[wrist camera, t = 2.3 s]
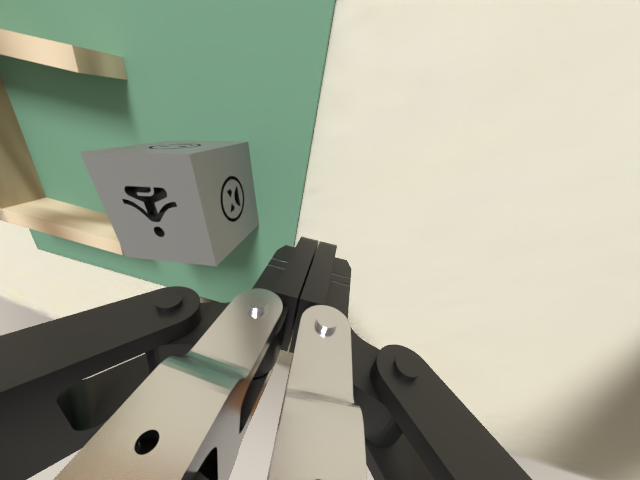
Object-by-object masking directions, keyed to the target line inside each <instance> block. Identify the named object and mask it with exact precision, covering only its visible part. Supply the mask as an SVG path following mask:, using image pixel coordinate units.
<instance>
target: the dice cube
mask: <svg viewBox="0 0 640 480" xmlns="http://www.w3.org/2000/svg"><path fill="white" fill-rule="evenodd" d="M80 154H81V156H82V158H83V161H84V163H85V165H86V168H87V170H88V172H89V174H90V177H91V179H92V181H93V184H94V186H95V188H96V190H97V193H98V195H99V197H100V199H101V202H102V204H103V206H104V209H105V211H106V213H107V215H108V218H109V220H110V222H111V225H112V227H113V229H114V231H115V234H116V236H117V238H118V241H119V243H120V245H121V247H122V250H123V252H124V254H125V257H131V258H140V259H150V260H160V261H170V262H179V263H189V264H199V265H208V266H217V265H218V264H219V263H220V262H221V261H222V260H223V259H224V258H225V257H226V256H227V255H229V254H230V253H231V252H232V251H233V250H234V249H235V248H236V247H237V246H238V245H239V244H240V243H241V242H242V241H243V240H244V239H245V238H246V237H247V236H248V235H249V234H250V233H251V232H252V231H253V230H254V229H255V228H256V227H257V226H258V225H259V220H258V212H257V205H256V197H255V190H254V182H253V174H252V167H251V159H250V152H249V144H248V142H235V141H163V142H155V143H147V144H139V145H131V146H124V147H116V148H108V149H100V150H92V151H84V152H80Z"/></svg>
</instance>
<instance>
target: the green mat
mask: <svg viewBox="0 0 640 480" xmlns="http://www.w3.org/2000/svg"><path fill="white" fill-rule="evenodd" d="M335 2H336V0H0V29H3V30H7V31H12V32H16V33H21V34H25V35H30V36H34V37H38V38H43V39H47V40H52V41H56V42H60V43H65V44H69V45H74V46H78V47H82V48H86V49H90V50H95V51H99V52H103V53H107V54H112V55H116V56H120V57H124V62H125V69H126V75H127V80H125V79H118V78H111V77H105V76H98V75H91V74H84V73H78V72H74V71H69V70H65V69H61V68H57V67H52V66H48V65H44V64H40V63H35V62H31V61H27V60H23V59H18V58H14V57H10V56H5V55H1V54H0V75H1V78H2V80H3V83H4V86H5V88H6V91H7V94H8V96H9V99H10V102H11V104H12V107H13V110H14V112H15V115H16V118H17V120H18V123H19V126H20V128H21V131H22V134H23V136H24V139H25V142H26V144H27V147H28V150H29V152H30V155H31V158H32V161H33V163H34V166H35V169H36V171H37V174H38V177H39V179H40V182H41V185H42V187H43V190H44V193H45V195H46V197H47V198H50V199H54V200H57V201H61V202H65V203H68V204H72V205H76V206H79V207H83V208H86V209H90V210H94V211H97V212H101V213H105V214H107V213H106V211H105V209H104V206H103V204H102V202H101V199H100V197H99V195H98V193H97V190H96V188H95V186H94V184H93V181H92V179H91V177H90V174H89V172H88V170H87V168H86V165H85V163H84V161H83V158H82V156H81V154H80V152H84V151H92V150H100V149H108V148H116V147H124V146H131V145H139V144H147V143H155V142H163V141H235V142H248V144H249V152H250V159H251V167H252V174H253V182H254V190H255V197H256V205H257V212H258V220H259V225H258V226H257V227H256V228H255V229H254V230H253V231H252V232H251V233H250V234H249V235H248V236H247V237H246V238H245V239H244V240H243V241H242V242H241V243H240V244H239V245H238V246H237V247H236V248H235V249H234V250H233V251H232V252H231V253H230V254H229V255H227V256H226V257H225V258H224V259H223V260H222V261H221V262H220V263H219V264H218V265H217V266H208V265H199V264H189V263H179V262H170V261H160V260H150V259H140V258H131V257H125V254H124V255H120V254H117V253H113V252H110V251H106V250H103V249H99V248H96V247H92V246H89V245H85V244H82V243H78V242H75V241H71V240H68V239H64V238H61V237H57V236H54V235H50V234H47V233H43V232H40V231H36V230H33V229H29V230H30V232H31V234H32V237H33V239H34V241H35V244H36V246H37V248H38V249H40V250H44V251H47V252H50V253H54V254H57V255H61V256H64V257H68V258H71V259H74V260H78V261H81V262H85V263H88V264H91V265H95V266H98V267H102V268H105V269H109V270H112V271H115V272H119V273H122V274H126V275H129V276H132V277H136V278H139V279H143V280H146V281H150V282H153V283H156V284H160V285H163V286H167V287H172V286H182V287H187V288H190V289H192V290H194V291H195V292H197V294H198V295H199V296H201V297H204V298H208V299H211V300H215V301H218V302H221V303H227V302H232V300H233V299H234V298H235V297H236V296H237V295H238V294H240V293H241V292H243V291H246V290H249V289H252V288H253V286H254V285H255V283H256V282H257V280H258V279H259V277H260V276H261V274H262V272H263V271H264V269H265V268H266V266H267V265H268V263H269V262H270V260H271V259H272V257H273V255H274V254H275V252H276V251H277V250H278V249H280V248H281V247H283V246H285V245H288V246H292V247H294V244H295V238H296V232H297V226H298V220H299V214H300V208H301V202H302V197H303V191H304V185H305V179H306V173H307V167H308V161H309V155H310V149H311V143H312V138H313V132H314V126H315V120H316V114H317V108H318V102H319V96H320V90H321V84H322V79H323V73H324V67H325V61H326V55H327V49H328V43H329V37H330V31H331V25H332V20H333V14H334V8H335Z"/></svg>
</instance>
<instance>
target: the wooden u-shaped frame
mask: <svg viewBox="0 0 640 480" xmlns="http://www.w3.org/2000/svg"><path fill="white" fill-rule="evenodd" d="M0 54H1V55H5V56H10V57H14V58H18V59H23V60H27V61H31V62H35V63H40V64H44V65H48V66H52V67H57V68H61V69H65V70H69V71H74V72H78V73H84V74H91V75H98V76H105V77H111V78H118V79H125V80H127V75H126V69H125V62H124V57H120V56H116V55H112V54H107V53H103V52H99V51H95V50H90V49H86V48H82V47H78V46H74V45H69V44H65V43H60V42H56V41H52V40H47V39H43V38H38V37H34V36H30V35H25V34H21V33H16V32H12V31H7V30H3V29H0ZM0 220H2V221H5V222H9V223H12V224H15V225H19V226H22V227H26V228H29V229H33V230H36V231H40V232H43V233H47V234H50V235H54V236H57V237H61V238H64V239H68V240H71V241H75V242H78V243H82V244H85V245H89V246H92V247H96V248H99V249H103V250H106V251H110V252H113V253H117V254H120V255H124V252H123V250H122V247H121V245H120V243H119V241H118V238H117V236H116V234H115V231H114V229H113V227H112V225H111V222H110V220H109V218H108V215H107V214H105V213H101V212H97V211H94V210H90V209H86V208H83V207H79V206H76V205H72V204H68V203H65V202H61V201H57V200H54V199H50V198H47V197H46V195H45V193H44V190H43V187H42V185H41V182H40V179H39V177H38V174H37V171H36V169H35V166H34V163H33V161H32V158H31V155H30V152H29V150H28V147H27V144H26V142H25V139H24V136H23V134H22V131H21V128H20V126H19V123H18V120H17V118H16V115H15V112H14V110H13V107H12V104H11V102H10V99H9V96H8V94H7V91H6V88H5V86H4V83H3V80H2V78H1V75H0Z"/></svg>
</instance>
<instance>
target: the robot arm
mask: <svg viewBox="0 0 640 480" xmlns="http://www.w3.org/2000/svg"><path fill="white" fill-rule="evenodd" d="M317 247H318V248H317ZM336 248H337V245H333V244H329V243H325V242H321V241H320V242H319V245H318V241H317V240H313V239H309V238H305V237H301V238H300V240H299V242H298V244H297V246H296V247H292V246H288V245H285V246H283V247H281V248H280V249H278V250H277V251H276V252H275V254H274V255H273V257H272V259H271V260H270V262H269V263H268V265H267V266H266V268H265V269H264V271H263V272H262V274H261V276H260V277H259V279H258V280H257V282H256V283H255V285H254V286H253V288H252V289H249V290H246V291H243V292H241V293H240V294H238V295H237V296H236V297H235V298H234V299H233V300H232V302H227V303H200V297H199V295H198V294H197V292H195V291H194V290H192V289H190V288H187V287H182V286H172V287H166V288H162V289H158V290H155V291H151V292H148V293H145V294H141V295H138V296H134V297H131V298H128V299H124V300H121V301H117V302H114V303H111V304H107V305H104V306H100V307H97V308H94V309H90V310H87V311H83V312H80V313H77V314H73V315H70V316H66V317H63V318H59V319H56V320H53V321H49V322H46V323H42V324H39V325H36V326H32V327H29V328H25V329H22V330H19V331H15V332H12V333H9V334H5V335H2V336H0V480H26V479H28V478H30V477H32V476H34V475H35V474H37V473H39V472H41V471H42V470H44V469H46V468H48V467H49V466H51V465H53V464H55V463H57V462H58V461H60V460H62V459H64V458H65V457H67V456H69V455H71V454H72V453H74V452H76V451H78V450H80V449H81V448H82V449H81V450H80V451H79V452H78V453H77V455H76V456H75V457H74V458H73V459H72V460H71V461H70V462H69V463H68V464H67V465H66V467H64V469H63V470H62V471H61V472H60V473H59V474H58V475H57V476H56V477H55V478H54V480H228V479H229V477H230V474H231V472H232V469H233V466H234V464H235V461H236V458H237V454H238V451H239V448H240V445H241V442H242V439H243V437H244V434H245V432H246V430H247V428H248V425H249V423H250V421H251V419H252V416H253V414H254V412H255V409H256V407H257V405H258V403H259V400H260V397H261V396H262V394H263V391H264V389H265V387H266V384H267V382H268V380H269V378H270V376H271V373H272V370H273V366H274V365H275V363H276V360H277V357H278V354H279V351H280V349H281V350H284V351H287V350H288V347H289V344H290V341H291V338H292V341H291V345H290V350H289V352H292V353H293V357H292V362H291V366H290V371H289V375H288V380H287V385H286V390H285V395H284V400H283V404H282V409H281V415H280V419H279V424H278V429H277V434H276V438H275V443H274V448H273V453H272V457H271V462H270V467H269V472H268V476H267V480H367V468H366V465H367V466H368V468H369V470H370V472H371V474H372V476H373V478H374V480H532V479H531V478H530V477H529V476H528V475H527V474H526V472H525V471H524V470H523V469H522V468H521V467H520V466H519V465H518V464H517V463H516V461H515V460H514V459H513V458H512V457H511V456H510V455H509V454H508V453H507V452H506V450H505V449H504V448H503V447H502V446H501V445H500V444H499V443H498V442H497V440H496V439H495V438H494V437H493V436H492V435H491V434H490V433H489V432H488V431H487V429H486V428H485V427H484V426H483V425H482V424H481V423H480V422H479V421H478V420H477V418H476V417H475V416H474V415H473V414H472V413H471V412H470V411H469V410H468V408H467V407H466V406H465V405H464V404H463V403H462V402H461V401H460V400H459V399H458V397H457V396H456V395H455V394H454V393H453V392H452V391H451V390H450V389H449V388H448V386H447V385H446V384H445V383H444V382H443V381H442V380H441V379H440V378H439V376H438V375H437V374H436V373H435V372H434V371H433V370H432V369H431V368H430V367H429V365H428V364H427V363H426V362H425V361H424V360H423V359H422V358H421V357H420V356H419V355H418V354H416V353H415V352H414V351H412V350H410V349H408V348H406V347H404V346H400V345H387V346H385V347H383V348H382V349H381V350H379V349H377V348H376V347H374V346H372V345H370V344H369V343H367V342H365V341H364V340H362V339H361V338H360V337H359V336H358V335H357V334H356V333H355V332H354V331H353V330H352V328H351V326H350V323H349V321H348V306H349V293H350V280H351V279H350V278H351V267H350V266H349V264H348V262H347V260H343V259H339V258H335V253H336ZM292 335H293V336H292ZM143 353H145V354H144V355H142V356H139V357H137V358H135V359H132V360H130V361H128V362H125V363H123V364H121V365H119V366H116V367H114V368H112V369H109V370H107V371H105V372H102V373H100V374H98V375H95V376H93V377H91V378H88V379H84V378H87V377H89V376H91V375H94V374H96V373H98V372H101V371H103V370H105V369H108V368H110V367H112V366H115V365H117V364H119V363H122V362H124V361H126V360H129V359H131V358H133V357H136V356H138V355H140V354H143ZM82 379H84V380H82Z"/></svg>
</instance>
